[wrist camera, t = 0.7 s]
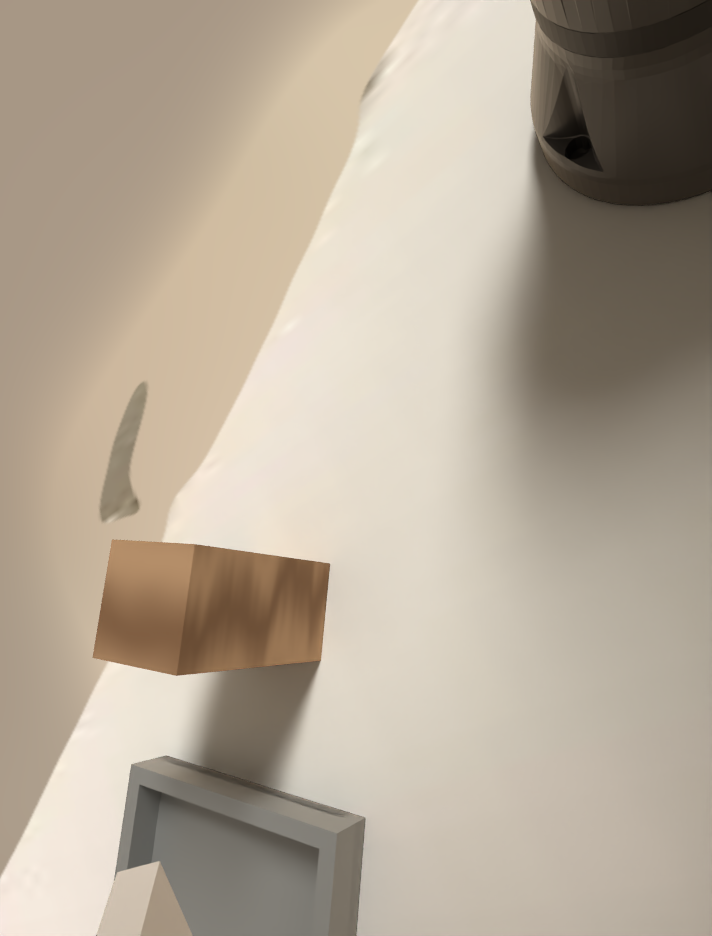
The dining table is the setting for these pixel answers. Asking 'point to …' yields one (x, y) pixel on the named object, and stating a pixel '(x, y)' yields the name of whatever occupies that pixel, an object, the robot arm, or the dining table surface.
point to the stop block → (209, 608)
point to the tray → (243, 852)
